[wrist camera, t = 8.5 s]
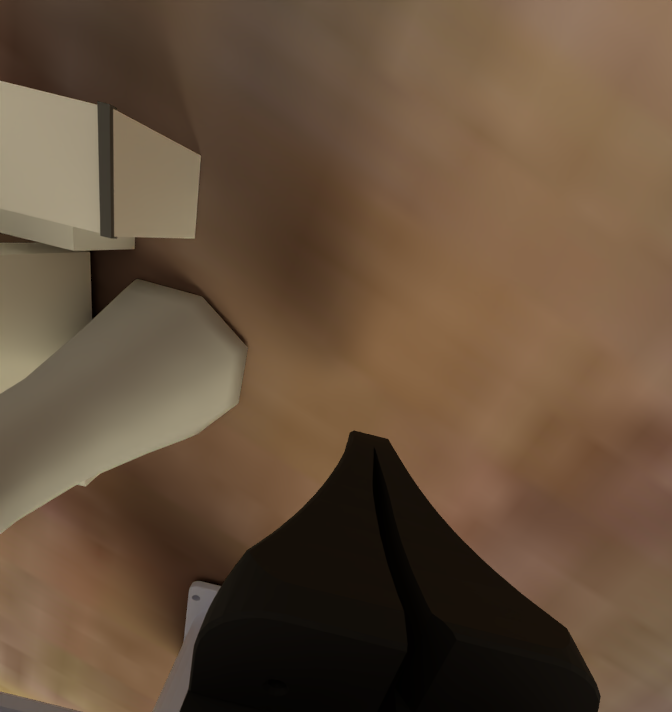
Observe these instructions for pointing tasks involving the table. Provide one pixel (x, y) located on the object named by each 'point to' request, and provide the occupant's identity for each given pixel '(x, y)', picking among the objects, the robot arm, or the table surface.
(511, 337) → the table surface
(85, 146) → the gauge frame
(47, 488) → the grey vase
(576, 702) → the robot arm
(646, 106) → the table surface
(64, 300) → the pad
